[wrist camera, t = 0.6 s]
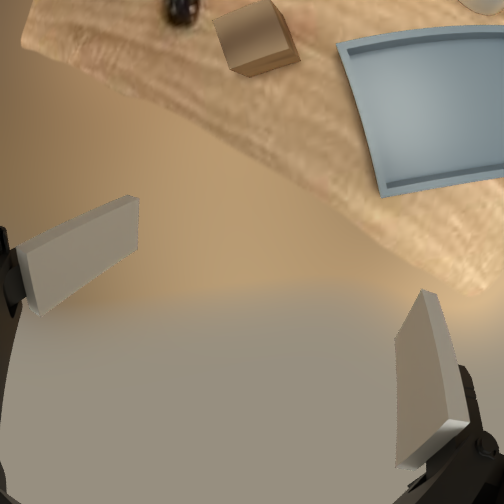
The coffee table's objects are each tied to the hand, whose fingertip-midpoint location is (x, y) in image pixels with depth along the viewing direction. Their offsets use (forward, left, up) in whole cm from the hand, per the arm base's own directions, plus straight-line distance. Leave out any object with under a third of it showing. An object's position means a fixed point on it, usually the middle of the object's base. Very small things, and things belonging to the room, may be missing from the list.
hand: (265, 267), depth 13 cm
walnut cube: (-16, -2, -23) cm, 28 cm away
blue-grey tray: (-5, +16, -23) cm, 29 cm away
